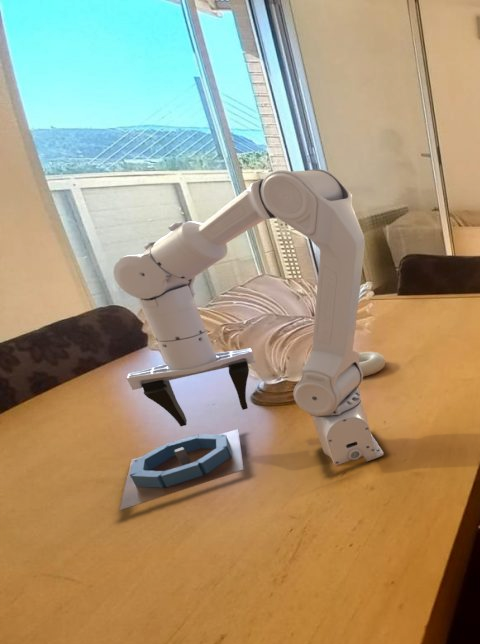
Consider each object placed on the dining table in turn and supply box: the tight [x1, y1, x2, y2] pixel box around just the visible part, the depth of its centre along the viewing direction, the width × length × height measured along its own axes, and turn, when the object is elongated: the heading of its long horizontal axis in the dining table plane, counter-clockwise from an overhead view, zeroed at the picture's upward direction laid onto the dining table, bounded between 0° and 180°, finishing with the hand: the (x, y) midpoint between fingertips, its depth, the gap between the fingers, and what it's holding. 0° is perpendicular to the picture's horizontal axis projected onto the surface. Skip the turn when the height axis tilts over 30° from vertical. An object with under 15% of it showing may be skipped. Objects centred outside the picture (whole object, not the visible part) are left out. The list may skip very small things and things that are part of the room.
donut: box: [358, 351, 387, 378], centre depth 110 cm, size 10×3×10 cm
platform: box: [118, 428, 245, 511], centre depth 74 cm, size 16×14×4 cm
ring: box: [130, 433, 231, 488], centre depth 74 cm, size 11×11×2 cm
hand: (215, 415), depth 75 cm, fingers open, 7 cm apart
